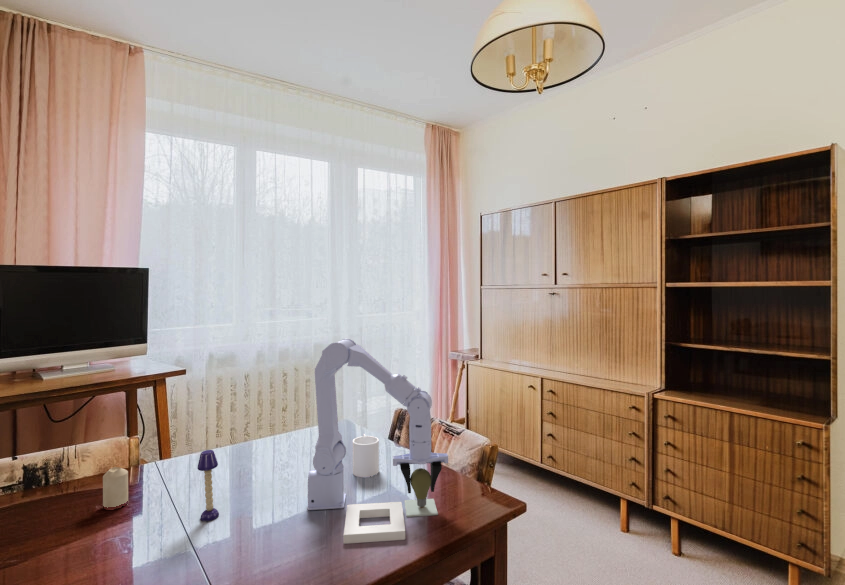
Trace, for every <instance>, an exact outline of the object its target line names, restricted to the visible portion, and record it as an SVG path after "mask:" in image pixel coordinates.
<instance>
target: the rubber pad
mask: <svg viewBox="0 0 845 585" xmlns="http://www.w3.org/2000/svg"><path fill="white" fill-rule="evenodd" d="M404 508H405V515H406V518H412V517H427V516H439V513H438V510H437V506H436V502H435V498H426V505H425V506H424V507H423V508H420V507H419V506H418V505H417V499H406V500H405V499H404Z"/></svg>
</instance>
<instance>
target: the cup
mask: <svg viewBox="0 0 845 585" xmlns="http://www.w3.org/2000/svg"><path fill="white" fill-rule="evenodd" d="M379 444H380V440H379V438H378V437H376V436H372V435H366V434H365V433H363V435H362V436H358V437H355V438H353V439H352V474H353V476H355V477H357V478H371V477H374V476H373V475H375V474H376V475H378V474H379V473H378V472H380V461H379V460H380V450H379V448H380V445H379ZM377 473H378V474H377ZM376 475H375V476H376ZM370 476H371V477H370Z"/></svg>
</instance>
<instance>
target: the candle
mask: <svg viewBox="0 0 845 585" xmlns="http://www.w3.org/2000/svg"><path fill="white" fill-rule="evenodd" d="M127 501H128V502H129V471H128V470H127V469H125V468H122V467H117V466H114V467H112V468H110V469H108V471H106V472H105V473H104V474H103V476H102V507H103V506H104V507H107V508H108V507H116V506H119V505H121V504H124V503H126V502H127Z"/></svg>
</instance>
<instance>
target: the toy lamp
mask: <svg viewBox="0 0 845 585" xmlns="http://www.w3.org/2000/svg"><path fill="white" fill-rule="evenodd" d="M218 465H219V463H218V459H217V457H216V453H215V451H214V450H213V449H206V450H203V451H201V452H200V454H199V458H198V464H197V470H198V471H201V472H204V477H203V478H204V486H205V487H204V491H205V493H204V494H205V495H204V496H205V504H206V505H205V510H203V512H202V513H201V515H200V519H199V520H201V521H202V522H210V521H214V520H215V519H217V518H218V517H219V515H220V513H219V510H218V509H217V508H214V498H213V496H214V493H213V480H212V478H213V474H212V472H213V470H214V469H216V468H217V467H218Z"/></svg>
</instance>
